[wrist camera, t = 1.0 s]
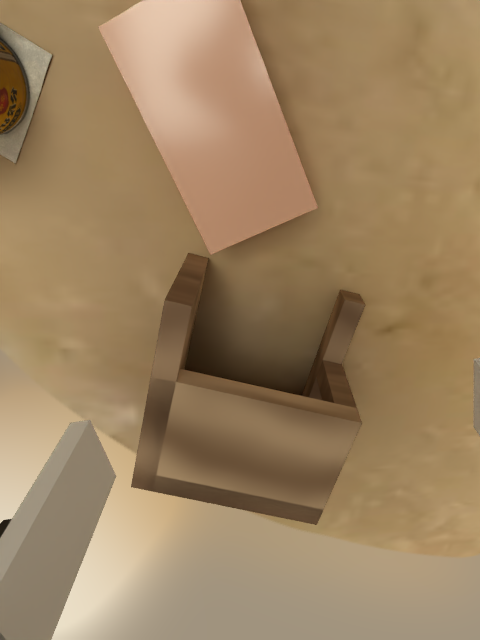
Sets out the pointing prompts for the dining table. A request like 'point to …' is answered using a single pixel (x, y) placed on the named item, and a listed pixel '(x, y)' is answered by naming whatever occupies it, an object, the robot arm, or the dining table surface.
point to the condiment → (18, 88)
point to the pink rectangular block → (211, 114)
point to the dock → (245, 420)
